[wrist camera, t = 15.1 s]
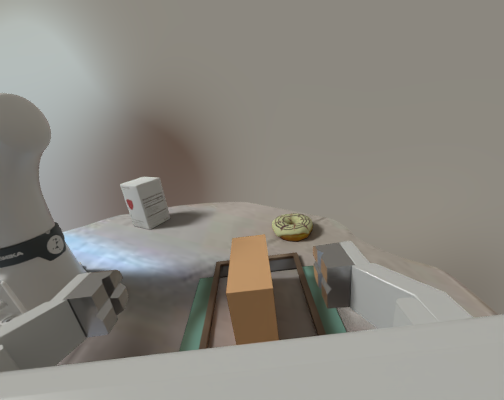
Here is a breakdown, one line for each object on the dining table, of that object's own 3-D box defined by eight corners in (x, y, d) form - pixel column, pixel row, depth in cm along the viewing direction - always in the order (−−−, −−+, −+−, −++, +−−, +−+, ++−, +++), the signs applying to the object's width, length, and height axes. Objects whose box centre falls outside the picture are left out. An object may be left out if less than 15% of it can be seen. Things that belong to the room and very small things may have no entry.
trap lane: (121, 560, 18) (118, 556, 18) (203, 266, 53) (203, 263, 53) (436, 533, 18) (437, 528, 17) (310, 254, 52) (310, 250, 52)
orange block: (237, 349, 33) (225, 293, 30) (240, 282, 46) (232, 238, 43) (279, 344, 33) (272, 288, 30) (270, 278, 46) (264, 234, 43)
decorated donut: (273, 244, 58) (272, 231, 57) (272, 225, 68) (271, 213, 67) (316, 241, 57) (316, 227, 56) (308, 221, 67) (308, 209, 66)
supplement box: (132, 226, 79) (118, 184, 74) (154, 215, 86) (143, 176, 81) (149, 230, 75) (135, 185, 69) (171, 218, 82) (160, 177, 76)
